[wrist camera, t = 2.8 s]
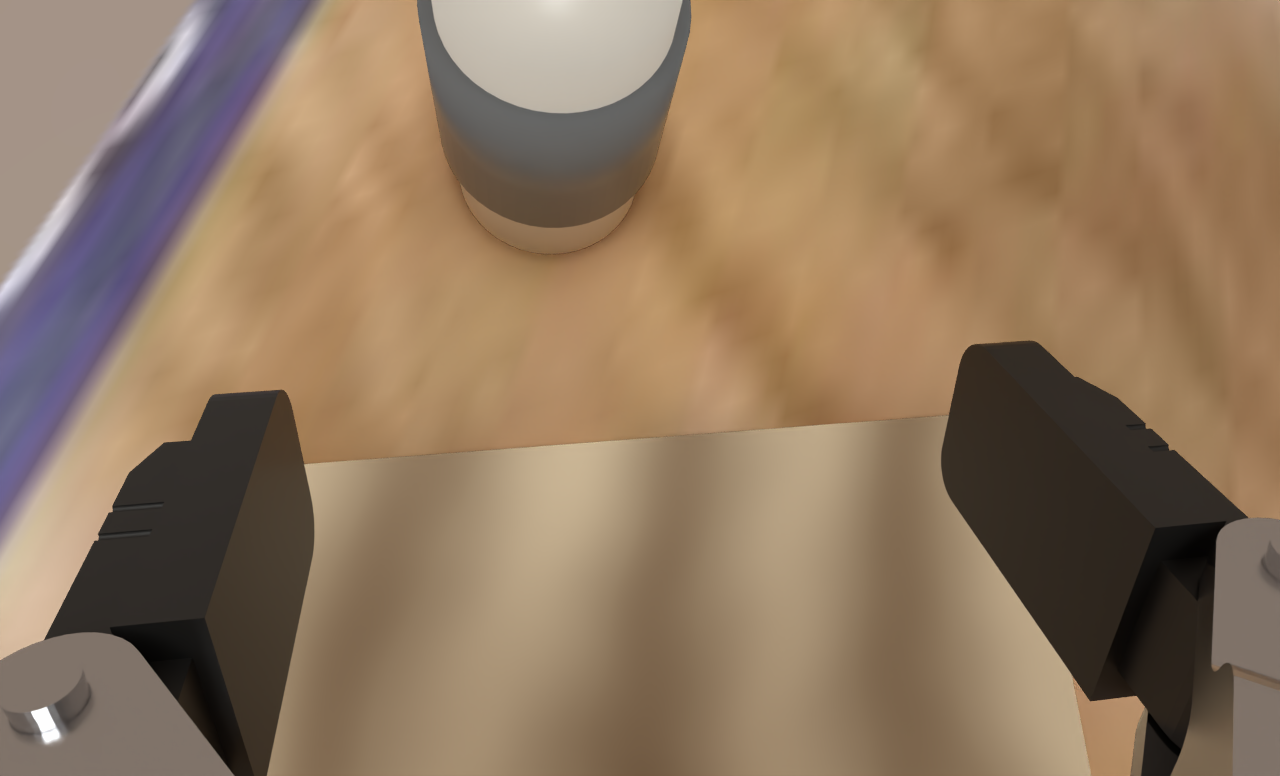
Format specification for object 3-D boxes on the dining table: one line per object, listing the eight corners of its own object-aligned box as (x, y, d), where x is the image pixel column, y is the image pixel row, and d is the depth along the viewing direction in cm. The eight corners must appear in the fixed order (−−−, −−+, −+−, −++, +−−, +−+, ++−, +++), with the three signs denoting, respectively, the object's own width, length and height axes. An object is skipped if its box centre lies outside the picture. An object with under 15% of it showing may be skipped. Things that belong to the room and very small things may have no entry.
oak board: (1002, 417, 27) (1020, 409, 26) (1082, 843, 24) (1106, 852, 23) (253, 475, 24) (241, 469, 23) (255, 960, 21) (242, 977, 20)
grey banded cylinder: (637, 79, 28) (687, -169, 19) (657, 259, 27) (720, 81, 18) (442, 84, 27) (401, -171, 18) (453, 269, 26) (414, 90, 17)
